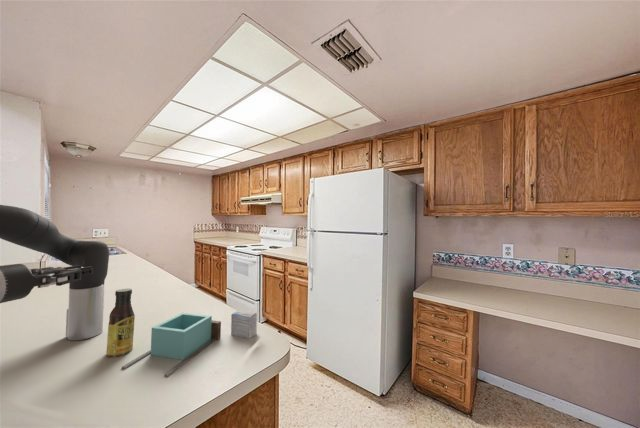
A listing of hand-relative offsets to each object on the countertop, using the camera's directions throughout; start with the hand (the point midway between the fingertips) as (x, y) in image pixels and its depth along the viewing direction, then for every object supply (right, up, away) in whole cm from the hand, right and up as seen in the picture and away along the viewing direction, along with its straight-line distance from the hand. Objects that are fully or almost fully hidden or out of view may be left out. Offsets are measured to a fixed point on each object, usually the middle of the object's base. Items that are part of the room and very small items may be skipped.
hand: (86, 269), depth 67 cm
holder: (+19, -27, +13) cm, 36 cm away
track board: (+18, -29, +10) cm, 35 cm away
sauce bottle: (+2, -28, +9) cm, 30 cm away
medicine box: (+35, -29, +23) cm, 51 cm away
